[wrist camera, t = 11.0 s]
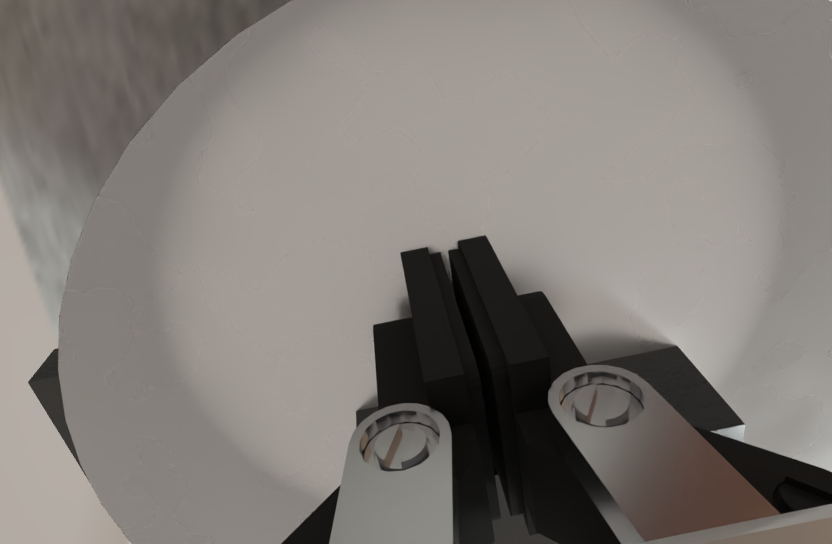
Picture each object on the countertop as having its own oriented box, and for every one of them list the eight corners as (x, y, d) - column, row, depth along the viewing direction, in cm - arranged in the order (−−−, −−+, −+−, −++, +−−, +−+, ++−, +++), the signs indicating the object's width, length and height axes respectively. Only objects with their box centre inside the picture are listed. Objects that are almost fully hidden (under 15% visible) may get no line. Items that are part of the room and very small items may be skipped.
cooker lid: (1003, -171, 10) (1360, -244, 6) (818, 546, 19) (922, 675, 15) (-110, 46, 10) (-366, 92, 6) (245, 664, 19) (221, 821, 15)
